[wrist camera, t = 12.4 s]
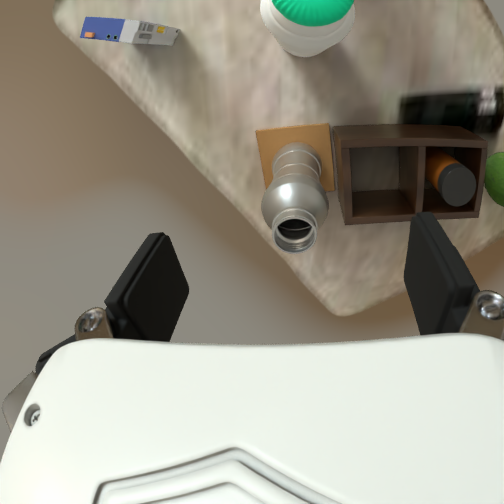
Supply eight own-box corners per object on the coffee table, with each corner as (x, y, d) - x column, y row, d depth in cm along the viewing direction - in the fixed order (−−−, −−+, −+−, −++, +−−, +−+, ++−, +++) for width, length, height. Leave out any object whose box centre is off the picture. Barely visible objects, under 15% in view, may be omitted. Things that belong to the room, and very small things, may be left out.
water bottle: (332, 57, 32) (383, 47, 12) (277, 58, 33) (249, 44, 13) (328, 9, 28) (371, -60, 8) (273, 10, 29) (238, -62, 9)
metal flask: (327, 172, 41) (345, 254, 25) (283, 188, 44) (272, 276, 27) (310, 131, 38) (320, 188, 22) (265, 148, 41) (240, 216, 24)
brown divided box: (332, 126, 38) (340, 140, 31) (460, 126, 33) (488, 141, 27) (338, 198, 44) (344, 225, 37) (456, 193, 39) (478, 217, 33)
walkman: (127, 38, 33) (77, 38, 23) (133, 21, 31) (83, 16, 21) (174, 46, 33) (132, 44, 24) (180, 29, 32) (139, 20, 22)
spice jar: (415, 143, 37) (443, 167, 29) (445, 144, 36) (478, 167, 27) (414, 176, 39) (440, 207, 31) (444, 176, 38) (473, 206, 30)
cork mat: (256, 130, 40) (255, 131, 39) (328, 123, 37) (328, 123, 37) (267, 195, 45) (267, 196, 45) (334, 189, 43) (334, 190, 43)
